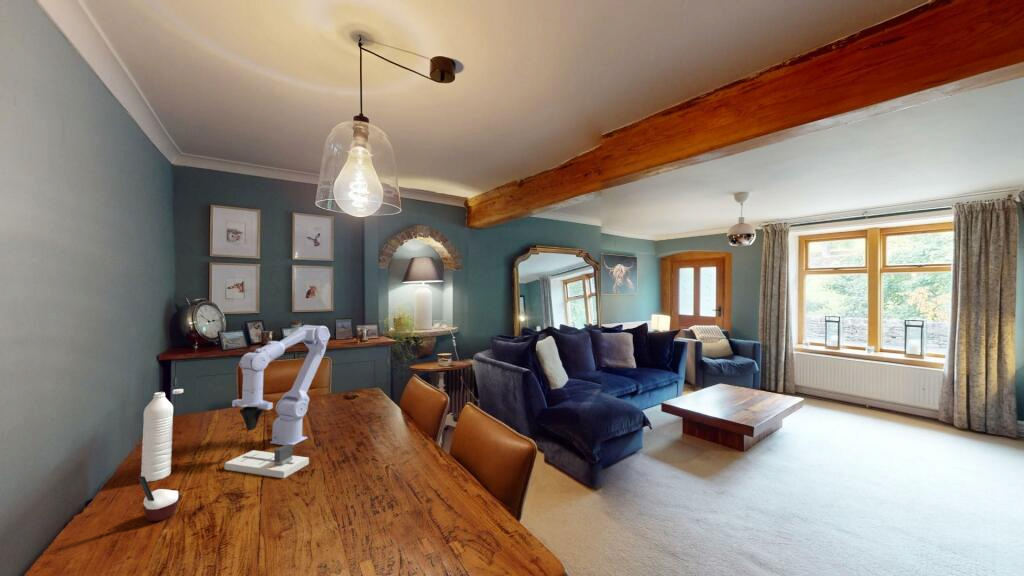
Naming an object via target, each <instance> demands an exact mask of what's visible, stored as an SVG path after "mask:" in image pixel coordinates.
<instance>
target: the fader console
mask: <svg viewBox="0 0 1024 576" xmlns="http://www.w3.org/2000/svg"><path fill="white" fill-rule="evenodd" d="M274 457H275V452H271V451H270V452H269V451H262V450H261V451H260V450H254V449H252V450H250V451H248V452H246V453H244V454H241V455H239V456H237V457H234V458H232V459H231V460H228V461H226V462H224V470H227V471H232V472H240V473H248V474H254V475H258V476H259V475H260V476H266V477H272V478H278V479H279V478H280V479H285V478H288V477H289V476H290V475H292V474H294V473H296V472H297V471H299V470H300V469H302V468H305V467H306V466H307V465H309V464H310V457H308V456H307V457H306V456H298V455H293V456H292V457H293V460H291V461H289V462H287V463H285V464H283V465H278V464H274Z"/></svg>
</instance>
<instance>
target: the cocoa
mask: <svg viewBox="0 0 1024 576" xmlns="http://www.w3.org/2000/svg"><path fill="white" fill-rule="evenodd" d="M137 479H138V481H139V483H140V486H141V487H142V490H143V492H144V494H145V497H144V500H143V503H142V504H143V510H144V511H143V513H144V516H145V518H146V519H147V520H148V521H150V522H161V521H164V520H166V519H168V518H170V517H171V516H172V515H174V513H175V512H177V511H176V510H177V508H178V506H179V503H180V501H181V500H182V499H181V498H182V496H181V494H179V491H178V490H172V489H167V488H164V489H163V488H158V489H155V490H153V491H152V490H151V488H150V486H149V482H147V481H146V478H145V477H143V476H141V475H139V476H138V477H137Z"/></svg>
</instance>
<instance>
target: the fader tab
mask: <svg viewBox="0 0 1024 576" xmlns="http://www.w3.org/2000/svg"><path fill="white" fill-rule="evenodd" d="M293 447H294V445H293V444H286V445H281V446H280V447H278V448H275V449H274V453H275V457H274V464H278V465H283V464H285V463H287V462H289V461H291V460H293V457H292V456H294V454H293V452H294V451H293V450H294V448H293Z"/></svg>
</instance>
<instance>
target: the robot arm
mask: <svg viewBox="0 0 1024 576" xmlns="http://www.w3.org/2000/svg"><path fill="white" fill-rule="evenodd" d="M330 337H331V334H330V330H329V329H328V327H327V326H325V325H313V324H312V325H310V324H304V325H303V326H301V327H298V328H297V330H295V331H294V332H293V333H291V334H289V335H287V336H286V337H284V338H283V339H281V340H279V341H277V340H269V341H268V342H267V344H265V345H264V346H262V347H260V348H256V349H255V350H254V351H253V352H247V353H245V354H244V355H243V356H241V359H240V361H238V366H239V367H240V369H241V374H242V390H241V391H242V394H241V395H242V396H241V399H238V398H236V399H234V400H232V401H231V403H232V405H231V407H240V409H239V414H240V415H241V416H242V418H243V420H244V421H243V422H244V424H245V426H246V430H247V431H252V430H255V429H256V427H257V424H258V423H259V419H260V416H261V415H262V413H263V412H264V411H270V410H271V409H273V407H274V405H273V404H274V402H270V401H267V400H265V399H264V397H263V396H264V370H265V369H267V367H268V365H269V363H271V362H273V361H274V360H276V359H277V358H279V357H281V356H282V355H284V353H285V351H286V349H289V348H290V347H293V346H294V345H296V344H298V343H301V342H303V344H305V346H306V347H307V348H308V352H307V355H306V358H305V359H304V361H303V364H302V365H301V368H300V370H299V372H298V374H297V377H296V378H295V380H294V383H293V385H292V386H291V389H290V390H287V391H286V392H285V393H284V394H283V395H282V397H281V399H279V401H278V402H277V403H276V406H275V412H276V414H277V415H278V417H276V418H275V419H274V422H273V423H272V431H271V432H272V435H271V436H272V439H271V441H270V442H269V443H270V444H273V445H279V446H280V445H281V446H284V445H286V444H293V446H295V445H297V444H298V443H301V442H303V441H305V440H307V439H308V436H303V418H304V417H305V415H306V413H307V412H308V409H309V408H308V407H309V403H310V396H308V394H307V393H308V392H309V390H310V386H311V384H312V381H313V379H314V378H315V375H316V374H317V371H318V368H319V366H320V364H321V361H322V359H323V357H324V355H325V353H326V350H327V344H328V342H329V339H330ZM241 408H242V409H241Z"/></svg>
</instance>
